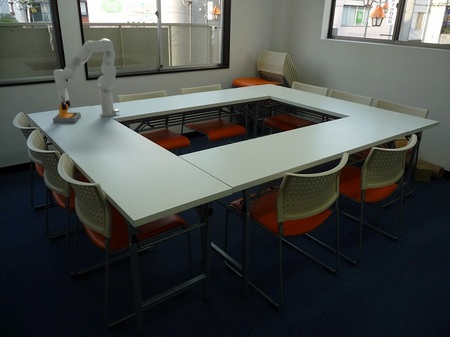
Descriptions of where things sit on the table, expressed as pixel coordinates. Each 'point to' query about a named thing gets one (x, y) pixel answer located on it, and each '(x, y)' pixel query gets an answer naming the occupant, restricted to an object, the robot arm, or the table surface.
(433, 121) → the table surface
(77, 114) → the bin
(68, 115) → the bracket
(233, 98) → the table surface
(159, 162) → the table surface
